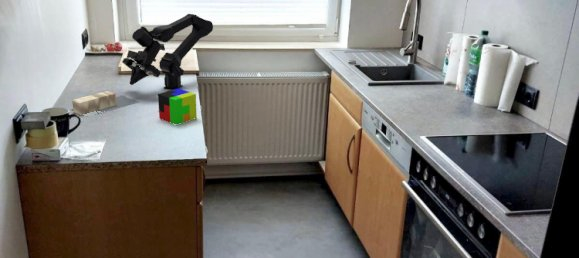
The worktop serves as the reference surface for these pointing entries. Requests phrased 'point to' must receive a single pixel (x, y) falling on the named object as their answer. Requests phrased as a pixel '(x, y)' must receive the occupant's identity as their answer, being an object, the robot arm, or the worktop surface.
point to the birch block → (94, 102)
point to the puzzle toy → (177, 106)
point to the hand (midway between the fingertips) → (130, 84)
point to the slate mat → (119, 103)
